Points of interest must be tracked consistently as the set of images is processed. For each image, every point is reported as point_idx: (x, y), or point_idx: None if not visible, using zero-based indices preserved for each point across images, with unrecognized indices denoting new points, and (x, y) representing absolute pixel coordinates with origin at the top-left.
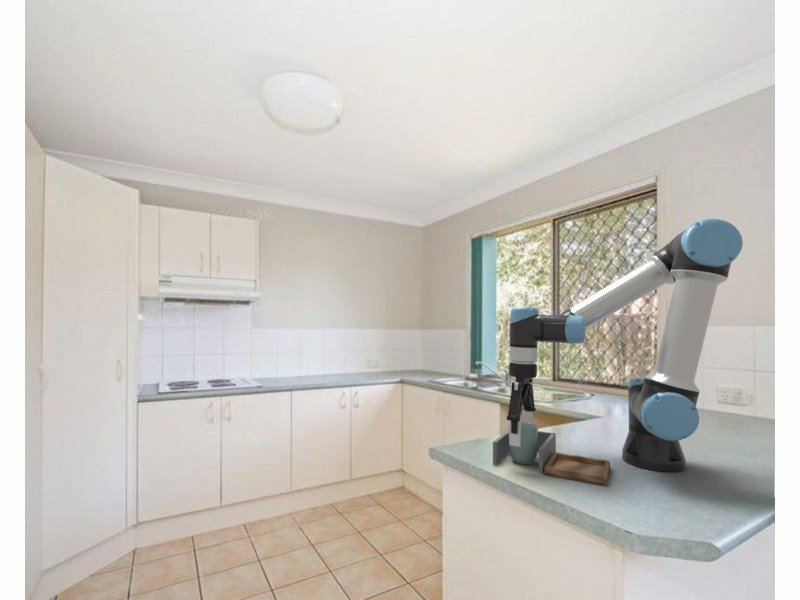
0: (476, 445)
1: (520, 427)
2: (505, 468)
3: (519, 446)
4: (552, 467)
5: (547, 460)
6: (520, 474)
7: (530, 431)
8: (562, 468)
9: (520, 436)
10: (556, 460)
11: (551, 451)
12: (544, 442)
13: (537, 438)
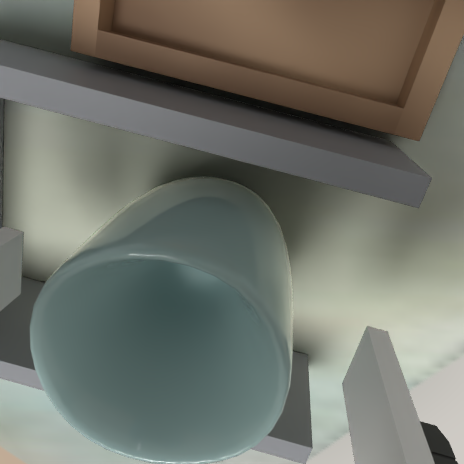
0: (48, 422)
1: (415, 441)
2: (345, 319)
3: (385, 334)
4: (425, 88)
5: (248, 109)
6: (423, 256)
7: (278, 308)
8: (306, 10)
9: (387, 375)
10: (152, 41)
11: (102, 74)
12: (202, 148)
13: (213, 214)
